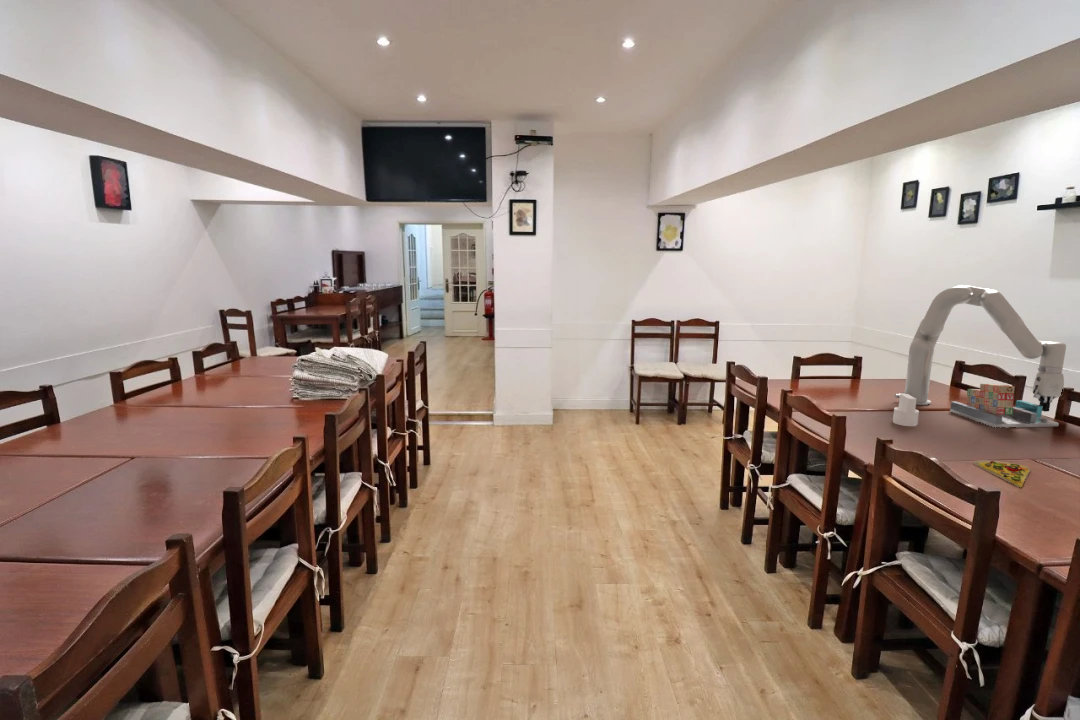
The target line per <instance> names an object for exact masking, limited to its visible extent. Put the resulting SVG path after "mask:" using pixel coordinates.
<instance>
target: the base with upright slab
mask: <svg viewBox="0 0 1080 720" xmlns="http://www.w3.org/2000/svg"><path fill="white" fill-rule="evenodd" d="M899 394H900V398H898V399H899V400H898V406H895V407H894V408H893V415H892V417H893V418H892V422H893V424H895V425H900V426H904V427H905V426H906V427H917V426H918V423H919V415H920V410H919V409H916V406H917V405H916V398H914V397H912V396H910V395H909V394H902V393H899ZM916 425H917V426H916Z"/></svg>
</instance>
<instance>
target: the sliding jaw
mask: <svg viewBox="0 0 1080 720" xmlns="http://www.w3.org/2000/svg"><path fill="white" fill-rule="evenodd" d="M1042 408H1043V406H1040V405H1039V404H1036V403H1033V402H1030V401H1029V402H1028V401H1025V400H1022V399H1020V400H1019V399H1018V400H1017V399H1016V401H1015V406H1013V415H1007V416H1010V417H1013V418H1016V419H1019V420H1023V421H1026V422H1029V423H1036V418H1038V417H1041V418H1042V414H1043V413H1042V412H1043V411H1042ZM1004 415H1005V414H1004Z"/></svg>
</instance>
